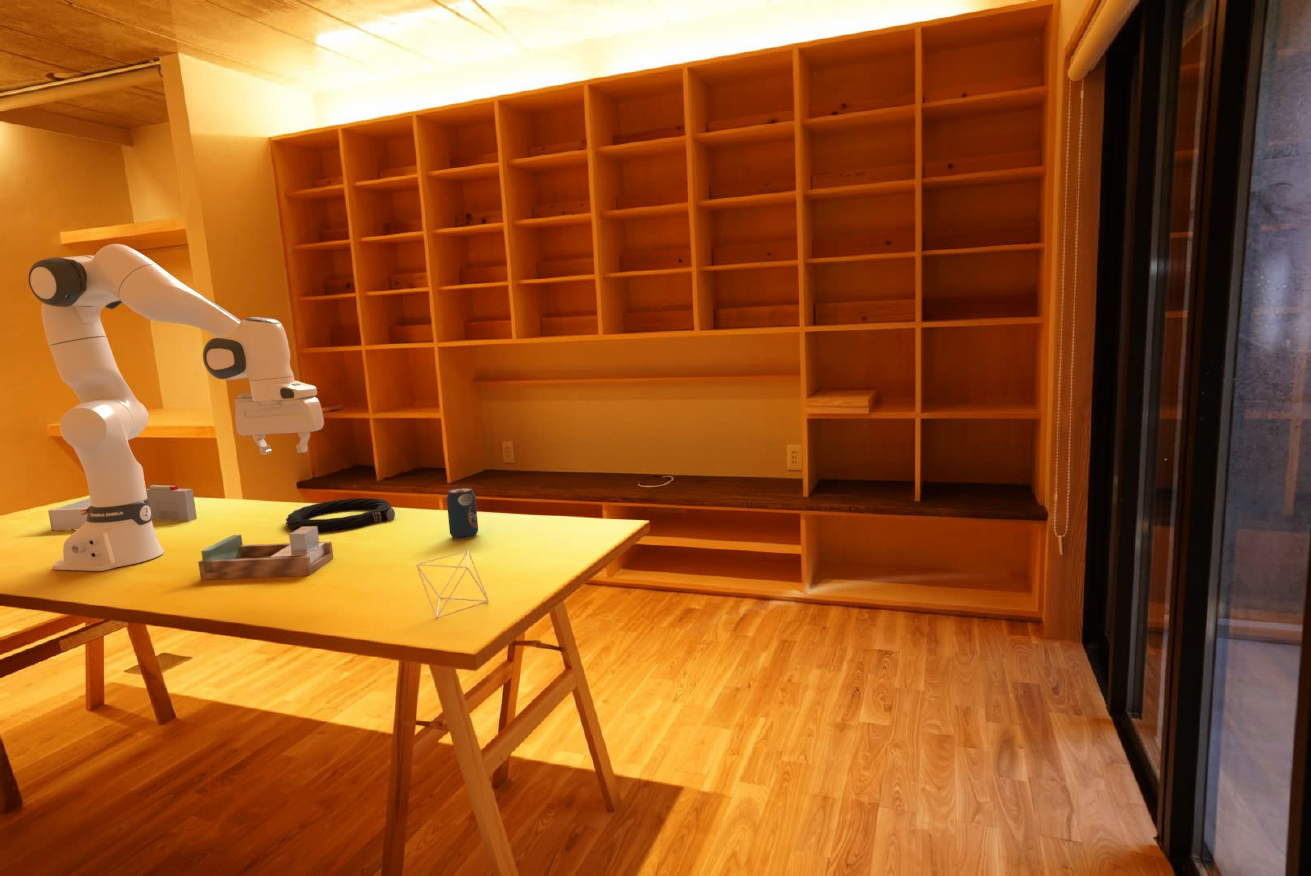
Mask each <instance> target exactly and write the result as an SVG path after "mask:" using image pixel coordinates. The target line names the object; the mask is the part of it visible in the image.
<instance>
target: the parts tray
mask: <svg viewBox="0 0 1311 876" xmlns="http://www.w3.org/2000/svg"><path fill="white" fill-rule="evenodd" d="M90 506H91V499H90V497H88V498H84V499H81V500H78V501H74V502H71V503H67V504H65V505H61V506H59V507H54V508H52V509H49V510H47V512H48V517H49V524H50V527H51V528H50V529H51V531H52V530H65V531H70V530H69V529H79V528H80V527H81V526H82V525H83V524H85V523H86V522H87V521H86V519H87V515H88V514H85V515H81V514H82V513H84V512H85V511H82V510H85V509H88V507H90ZM81 511H82V512H81Z"/></svg>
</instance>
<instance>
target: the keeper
mask: <svg viewBox="0 0 1311 876" xmlns="http://www.w3.org/2000/svg"><path fill="white" fill-rule="evenodd" d="M288 539H289V543H290V545H289V546H287V547H286V548H284V549H282V550H281V551H279V552H277V553H276V554H274V555H272V556H271V557H270V558H274V557H299V556H310V564H312V563H313V562H315V561H316V560H317V559H319V558H320V557H322V556H323V555H325V554H326V550H325V543H319V542H320V538H319V532H318V528H317V526H309V527H301V528H299V529H297V530H296V531H294V530H293V531H292V532H291V533H288Z"/></svg>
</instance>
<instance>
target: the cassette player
mask: <svg viewBox="0 0 1311 876" xmlns="http://www.w3.org/2000/svg"><path fill="white" fill-rule="evenodd" d="M146 493H147V497H148V498H149V499H150V504H151V510H152V520H154V521H155V520H157V521H175V522H177V521H178V522H191V521H194V520H197V519H198V516H197V512H196V511H197V510H196V509H197V508H196V503H195V496H194V489H193V488H178V485H159V484H158V485H157V484H155V485H154V484H151V485H149V488H146Z"/></svg>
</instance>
